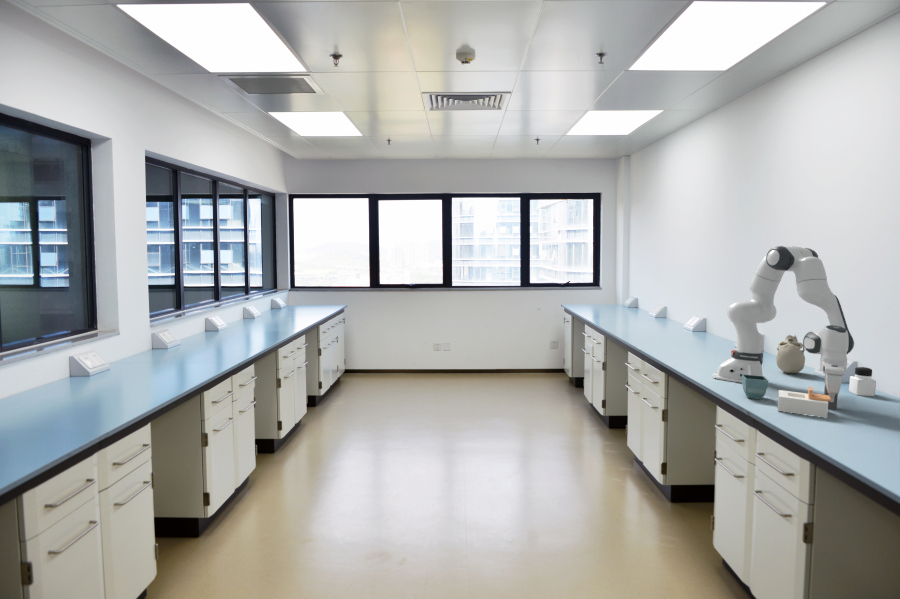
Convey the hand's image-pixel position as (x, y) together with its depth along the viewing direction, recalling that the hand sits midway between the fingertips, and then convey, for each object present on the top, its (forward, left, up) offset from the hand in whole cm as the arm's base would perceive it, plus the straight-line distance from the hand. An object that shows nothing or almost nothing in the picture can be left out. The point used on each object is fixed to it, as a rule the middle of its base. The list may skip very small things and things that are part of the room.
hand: (830, 399), depth 219 cm
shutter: (-5, -12, +3) cm, 13 cm away
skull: (-13, +65, -4) cm, 66 cm away
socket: (-10, -12, -3) cm, 16 cm away
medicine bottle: (+14, +35, -4) cm, 38 cm away
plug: (0, 0, -3) cm, 3 cm away
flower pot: (-27, 0, -4) cm, 27 cm away
